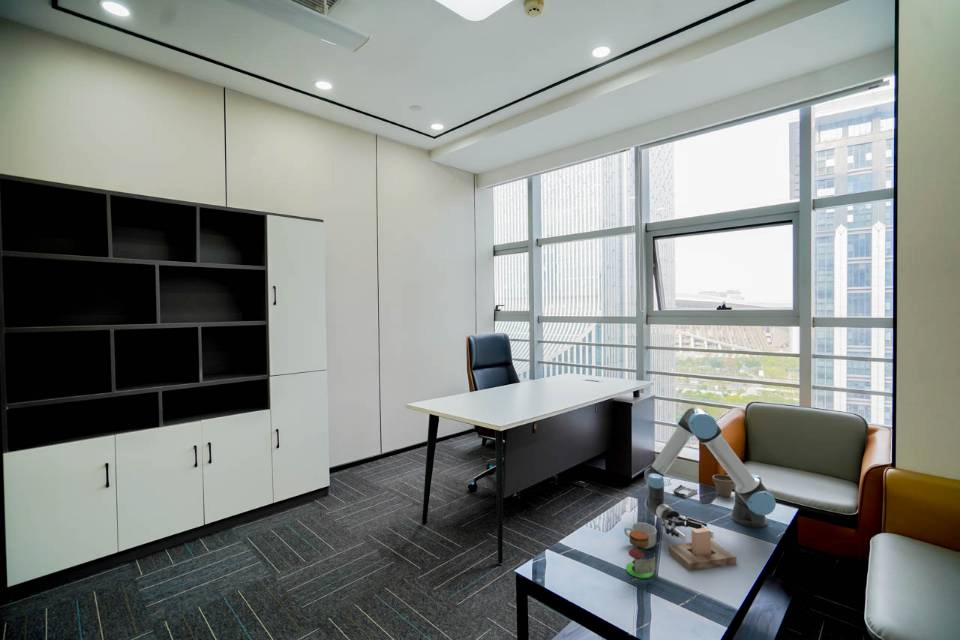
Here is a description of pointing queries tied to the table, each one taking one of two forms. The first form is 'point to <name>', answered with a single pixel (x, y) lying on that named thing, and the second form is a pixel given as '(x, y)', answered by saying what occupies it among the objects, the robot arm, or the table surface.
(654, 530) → the teacup
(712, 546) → the slotted rack
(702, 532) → the salmon rectangular block
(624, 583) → the table surface
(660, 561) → the table surface
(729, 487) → the flower pot
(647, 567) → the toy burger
